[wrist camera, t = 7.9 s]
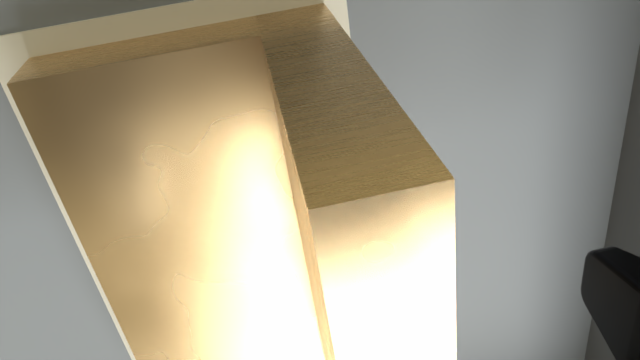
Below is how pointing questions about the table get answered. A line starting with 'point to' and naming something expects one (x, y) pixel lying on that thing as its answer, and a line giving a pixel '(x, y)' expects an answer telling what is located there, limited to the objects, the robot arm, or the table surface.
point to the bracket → (250, 192)
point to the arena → (433, 123)
